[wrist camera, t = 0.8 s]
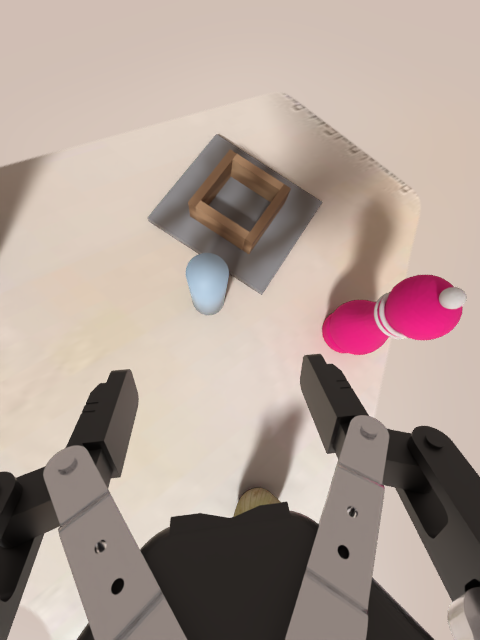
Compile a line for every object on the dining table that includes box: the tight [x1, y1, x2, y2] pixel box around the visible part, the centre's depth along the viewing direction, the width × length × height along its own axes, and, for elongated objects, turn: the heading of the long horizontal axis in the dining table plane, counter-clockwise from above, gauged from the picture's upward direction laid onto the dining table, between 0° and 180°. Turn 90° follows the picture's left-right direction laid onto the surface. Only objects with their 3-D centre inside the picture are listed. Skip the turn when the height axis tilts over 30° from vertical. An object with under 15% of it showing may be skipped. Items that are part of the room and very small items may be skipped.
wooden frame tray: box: [148, 134, 322, 295], centre depth 41 cm, size 20×18×4 cm
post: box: [186, 253, 229, 315], centre depth 34 cm, size 4×4×11 cm
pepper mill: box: [322, 275, 467, 355], centre depth 31 cm, size 7×7×20 cm
